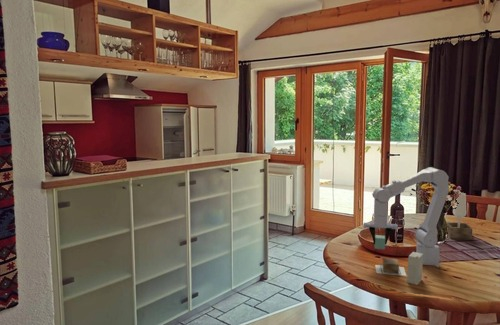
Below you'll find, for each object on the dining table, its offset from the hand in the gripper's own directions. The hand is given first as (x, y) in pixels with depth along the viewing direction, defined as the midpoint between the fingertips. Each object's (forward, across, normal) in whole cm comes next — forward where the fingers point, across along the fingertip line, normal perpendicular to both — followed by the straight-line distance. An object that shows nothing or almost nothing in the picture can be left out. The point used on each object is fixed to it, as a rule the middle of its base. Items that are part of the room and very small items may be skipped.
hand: (379, 243), depth 173 cm
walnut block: (+9, -4, +7) cm, 12 cm away
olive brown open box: (+10, -45, -51) cm, 68 cm away
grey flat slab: (+10, -4, +7) cm, 13 cm away
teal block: (+2, 0, 0) cm, 2 cm away
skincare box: (+10, -13, +16) cm, 23 cm away
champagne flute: (+10, -45, -51) cm, 69 cm away
